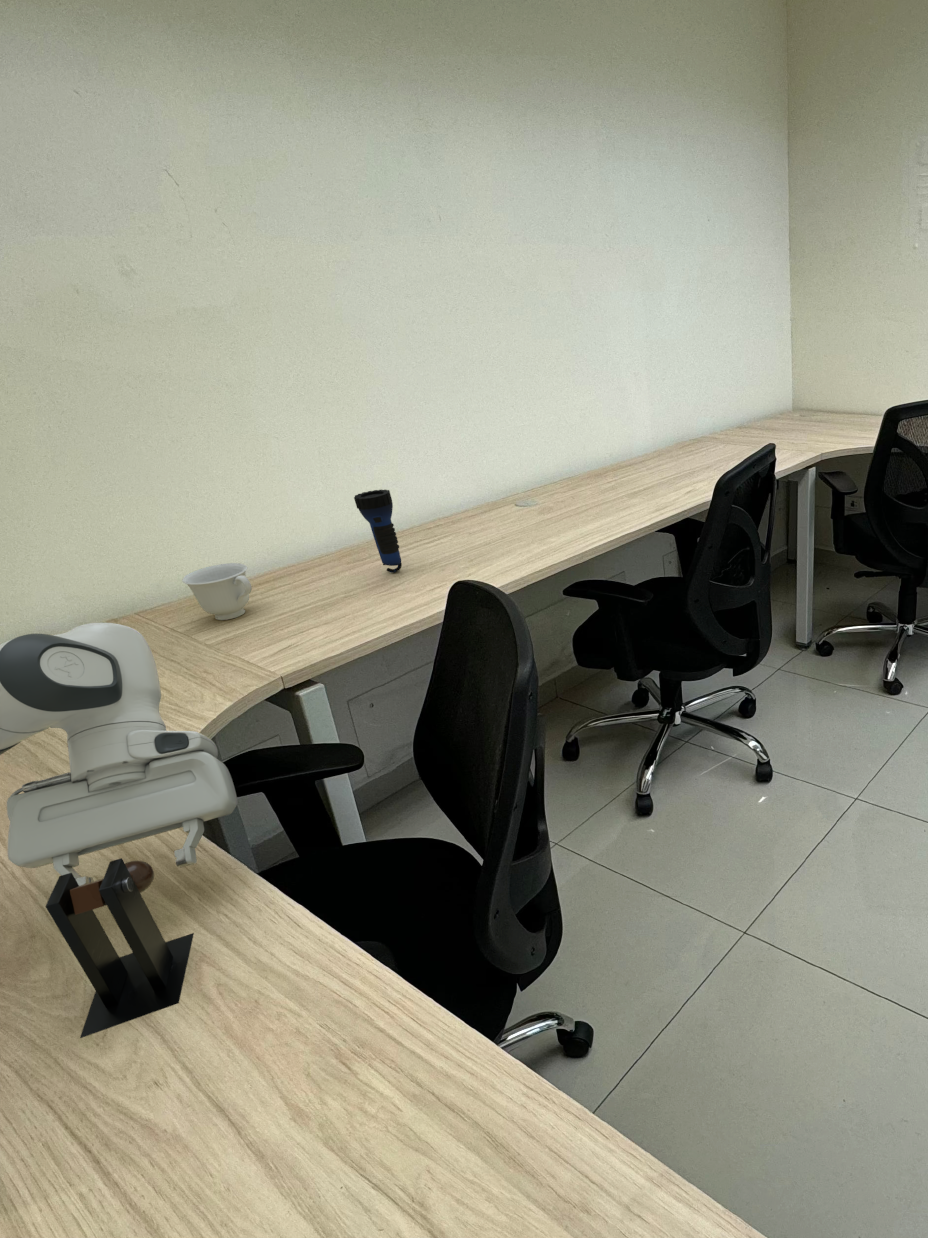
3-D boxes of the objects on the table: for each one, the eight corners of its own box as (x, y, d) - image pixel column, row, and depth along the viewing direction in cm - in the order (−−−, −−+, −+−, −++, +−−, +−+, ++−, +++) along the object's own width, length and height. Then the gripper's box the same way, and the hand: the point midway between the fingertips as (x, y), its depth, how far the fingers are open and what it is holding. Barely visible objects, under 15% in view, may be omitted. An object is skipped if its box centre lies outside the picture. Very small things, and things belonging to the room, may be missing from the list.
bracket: (109, 969, 81) (48, 863, 75) (197, 940, 84) (146, 835, 78) (84, 1046, 73) (13, 934, 66) (183, 1011, 76) (123, 900, 69)
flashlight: (369, 575, 187) (346, 495, 178) (398, 564, 193) (377, 487, 184) (387, 580, 182) (365, 499, 174) (416, 570, 188) (396, 491, 180)
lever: (123, 897, 83) (115, 864, 83) (162, 885, 84) (154, 853, 84) (67, 924, 71) (58, 886, 71) (113, 909, 72) (105, 872, 72)
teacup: (236, 630, 160) (219, 586, 156) (185, 623, 165) (168, 580, 160) (283, 607, 170) (269, 565, 166) (234, 601, 175) (219, 561, 171)
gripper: (-12, 782, 80) (-3, 914, 76) (214, 728, 88) (233, 845, 84) (22, 793, 85) (32, 916, 82) (231, 741, 93) (250, 852, 89)
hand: (135, 880), depth 83 cm, fingers open, 8 cm apart
